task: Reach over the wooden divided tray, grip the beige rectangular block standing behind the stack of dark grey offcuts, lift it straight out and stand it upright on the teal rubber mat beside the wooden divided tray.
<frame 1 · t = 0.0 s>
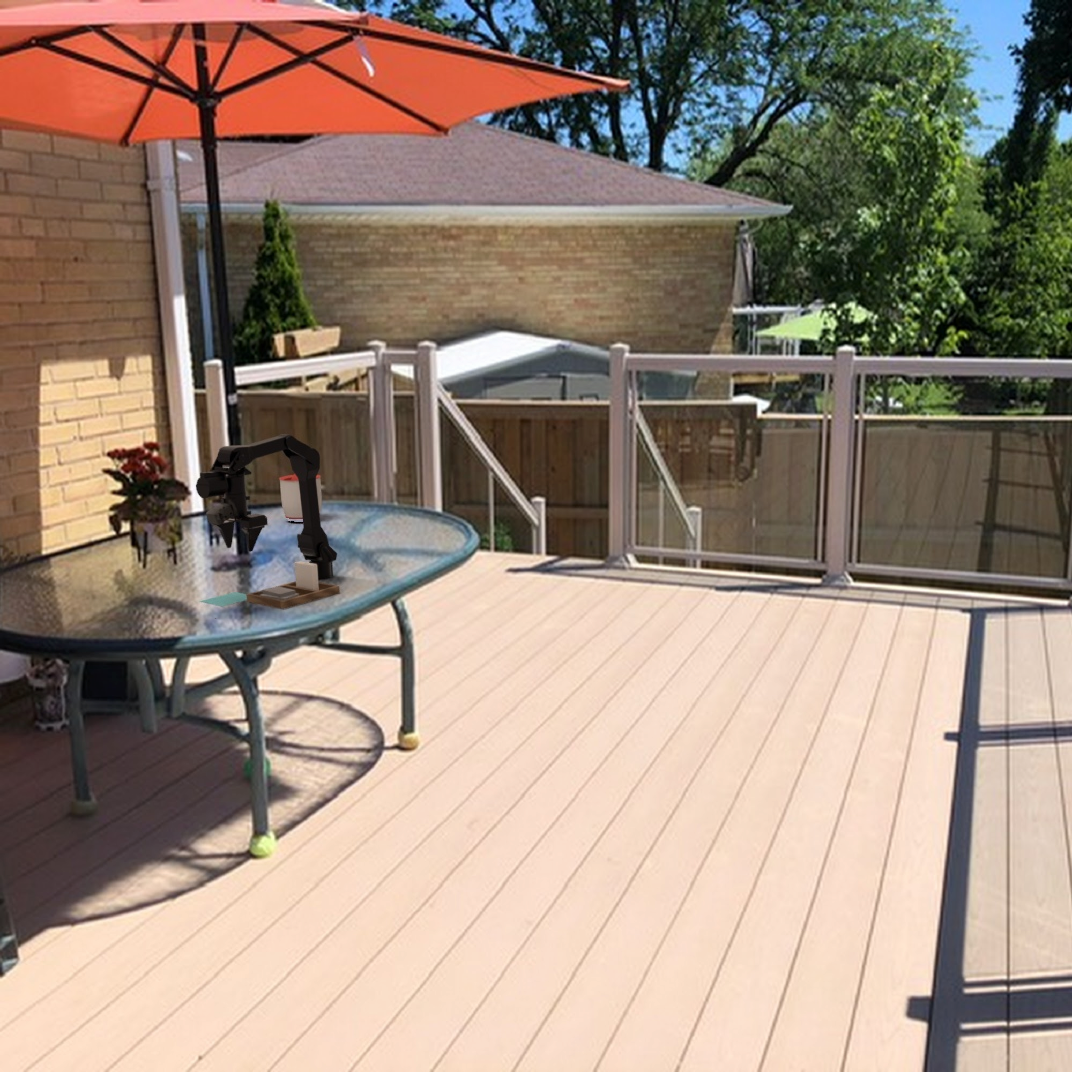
hand: (239, 549, 301), 15 cm above the table, tool pointing down, fingers open, 9 cm apart
beige rectangular block: (307, 593, 307), point 1 cm above the table, touching wooden divided tray
wooden divided tray: (294, 600, 304), on the table
citrus juicer: (304, 521, 424), on the table
offcut stack: (279, 601, 300), point 1 cm above the table, touching wooden divided tray
mat: (229, 602, 304), on the table
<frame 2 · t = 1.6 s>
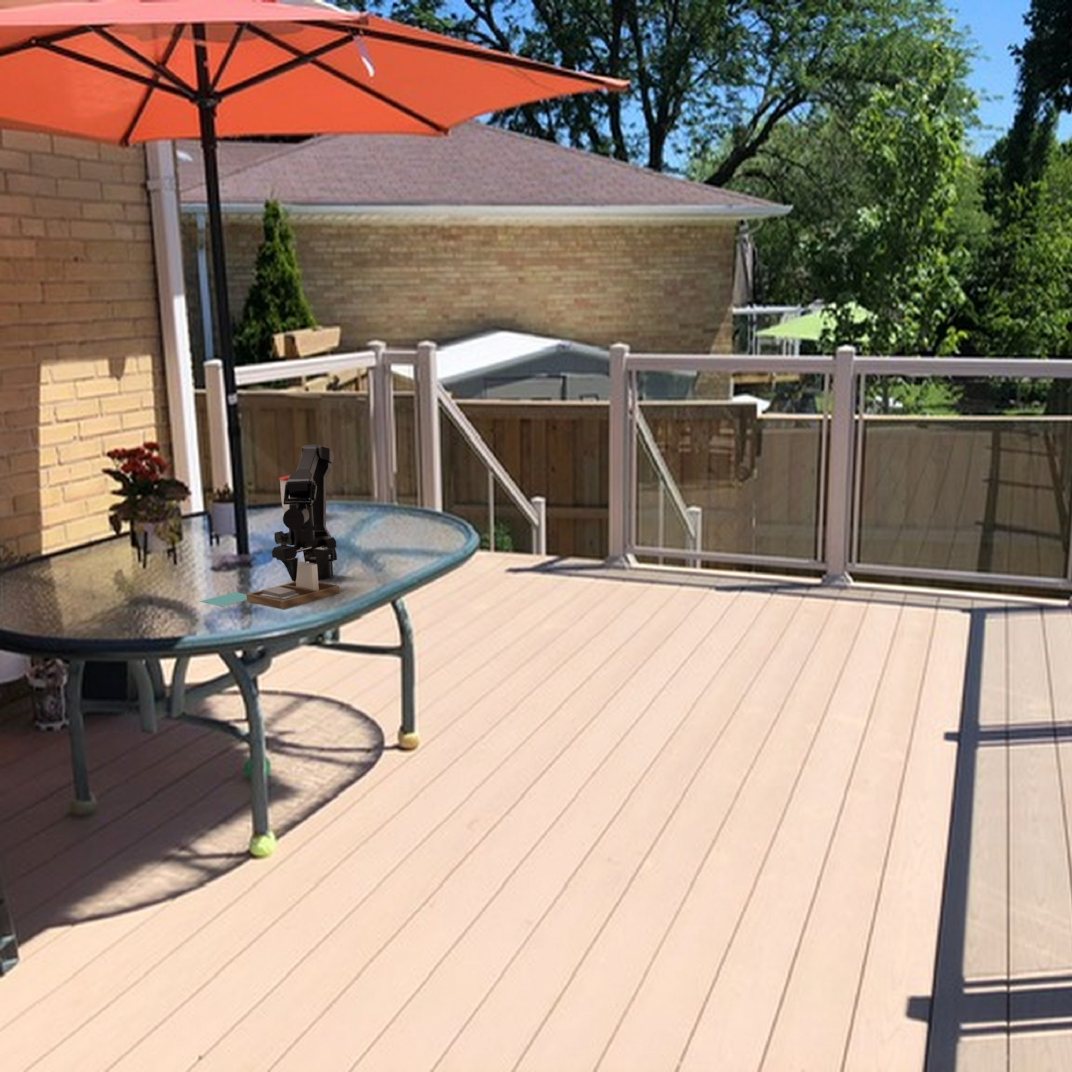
hand: (306, 577, 307), 5 cm above the table, tool pointing down, fingers open, 9 cm apart
nothing on the table moved.
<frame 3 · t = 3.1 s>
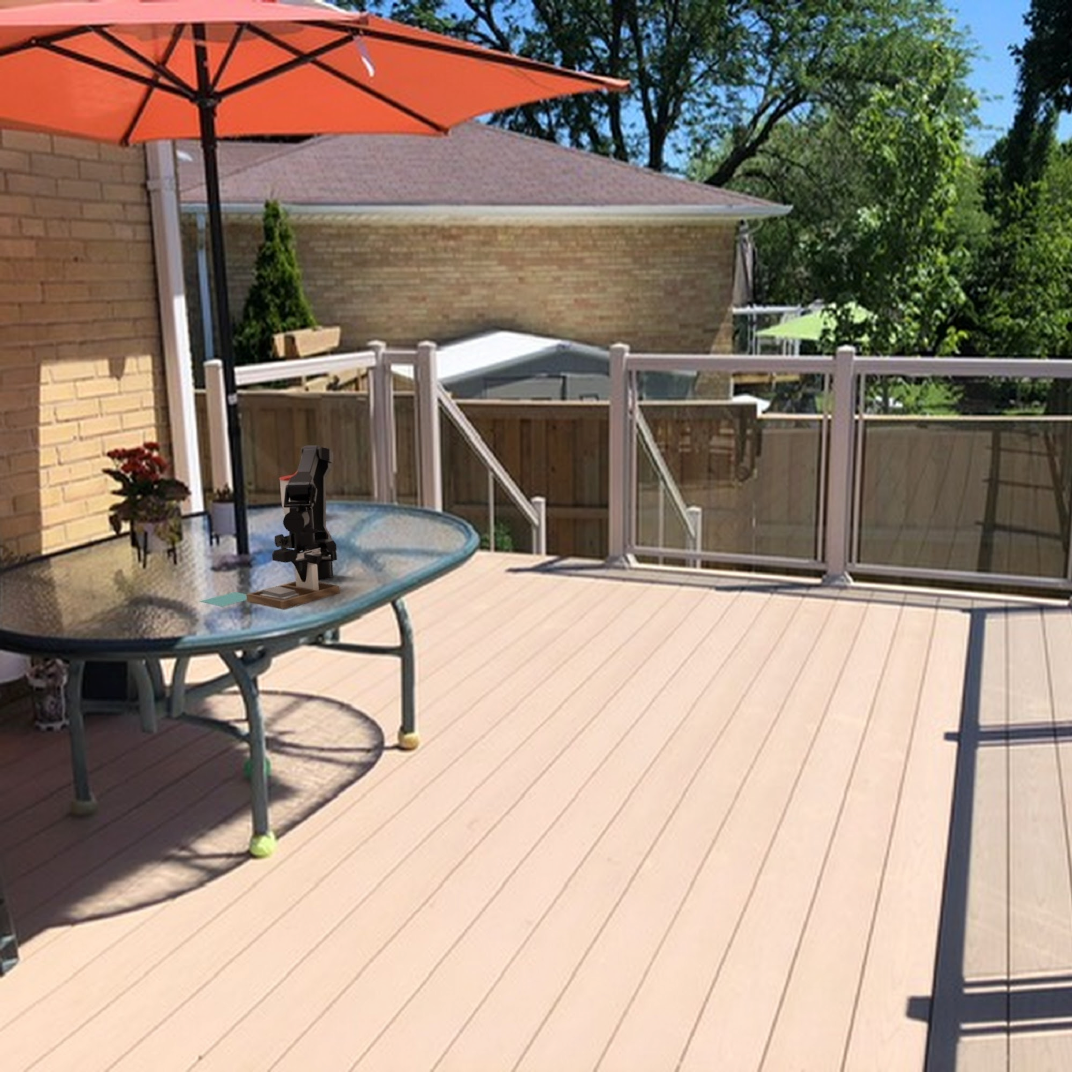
hand: (306, 580, 307), 5 cm above the table, tool pointing down, fingers closed on beige rectangular block, 2 cm apart
beige rectangular block: (307, 593, 307), point 1 cm above the table, touching gripper, wooden divided tray
everything else where it was.
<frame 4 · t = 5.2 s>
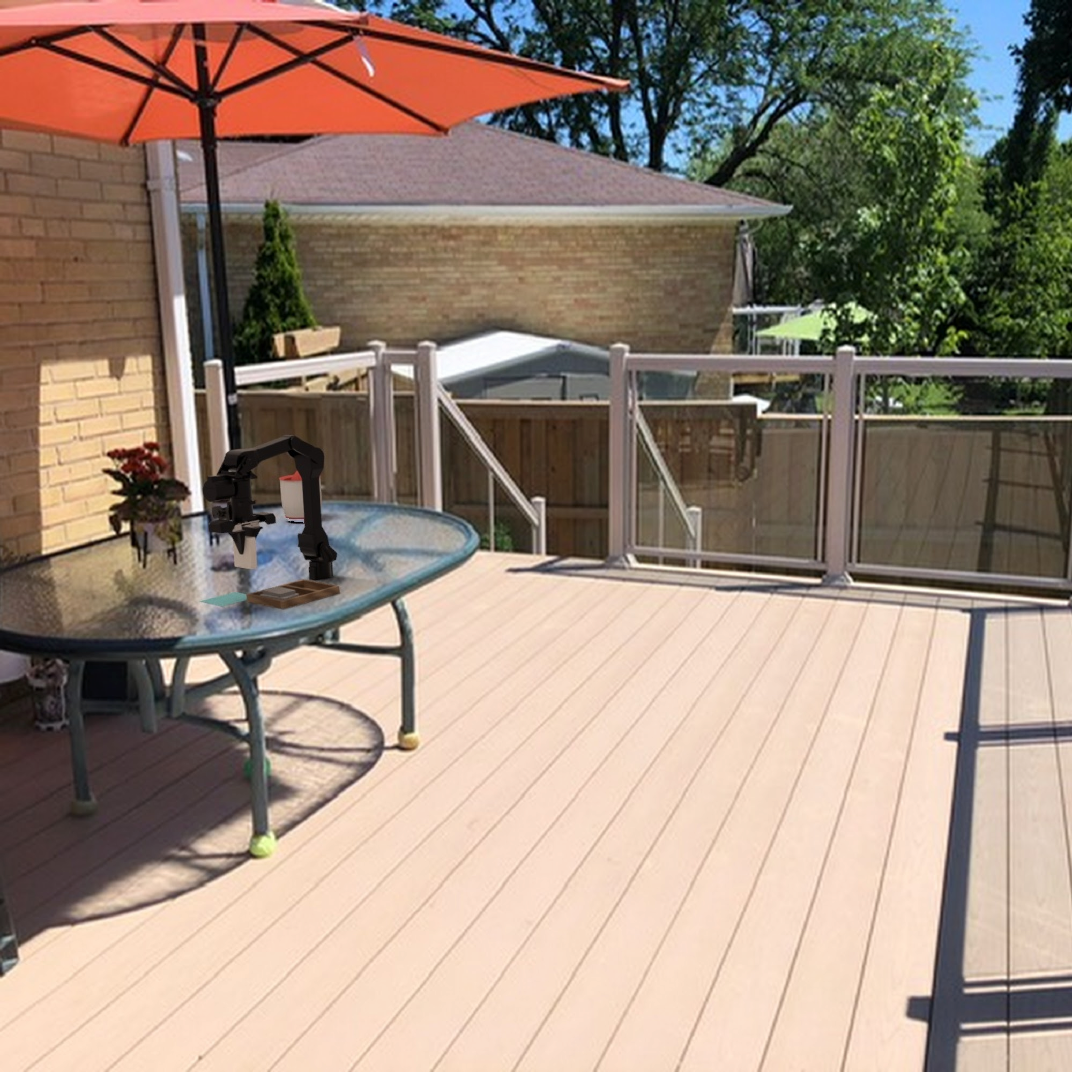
hand: (244, 553, 302), 13 cm above the table, tool pointing down, fingers closed on beige rectangular block
beige rectangular block: (245, 567, 302), point 10 cm above the table, touching gripper
everything else where it was.
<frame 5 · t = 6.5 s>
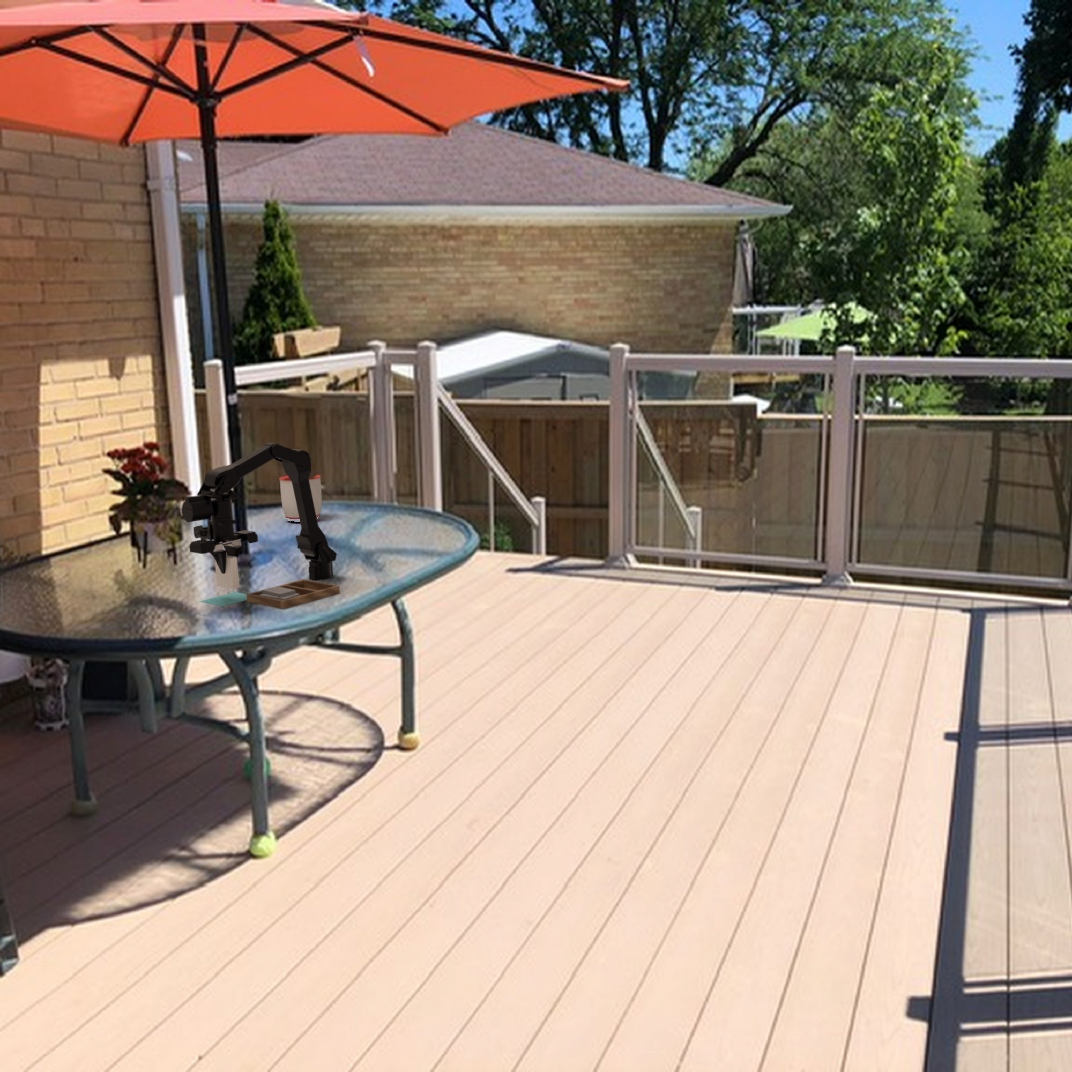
hand: (226, 572, 302), 8 cm above the table, tool pointing down, fingers closed on beige rectangular block
beige rectangular block: (228, 586, 303), point 5 cm above the table, touching gripper
everything else where it was.
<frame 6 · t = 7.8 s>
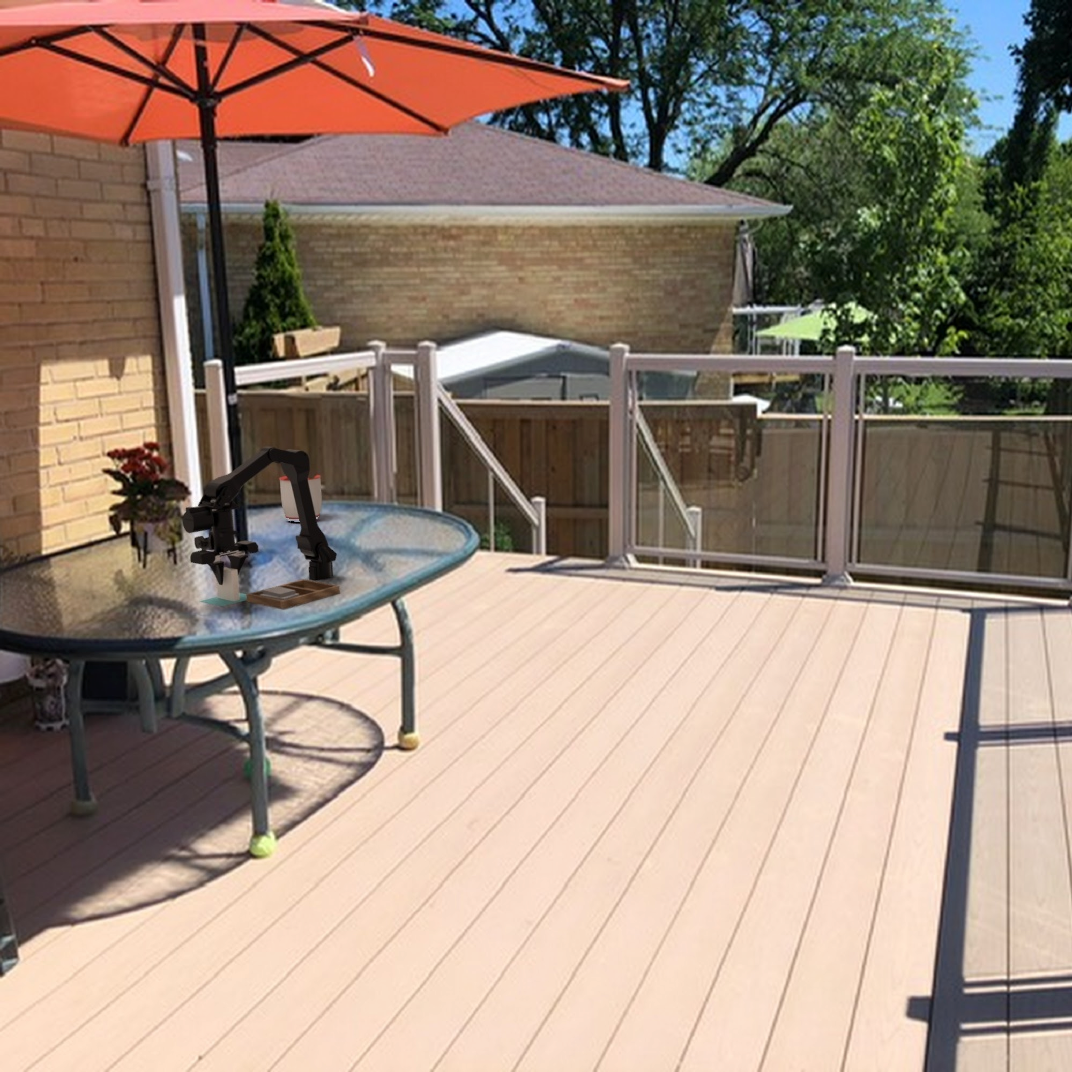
hand: (227, 583, 303), 5 cm above the table, tool pointing down, fingers open, 4 cm apart
beige rectangular block: (228, 598, 304), point 1 cm above the table, touching mat
everything else where it was.
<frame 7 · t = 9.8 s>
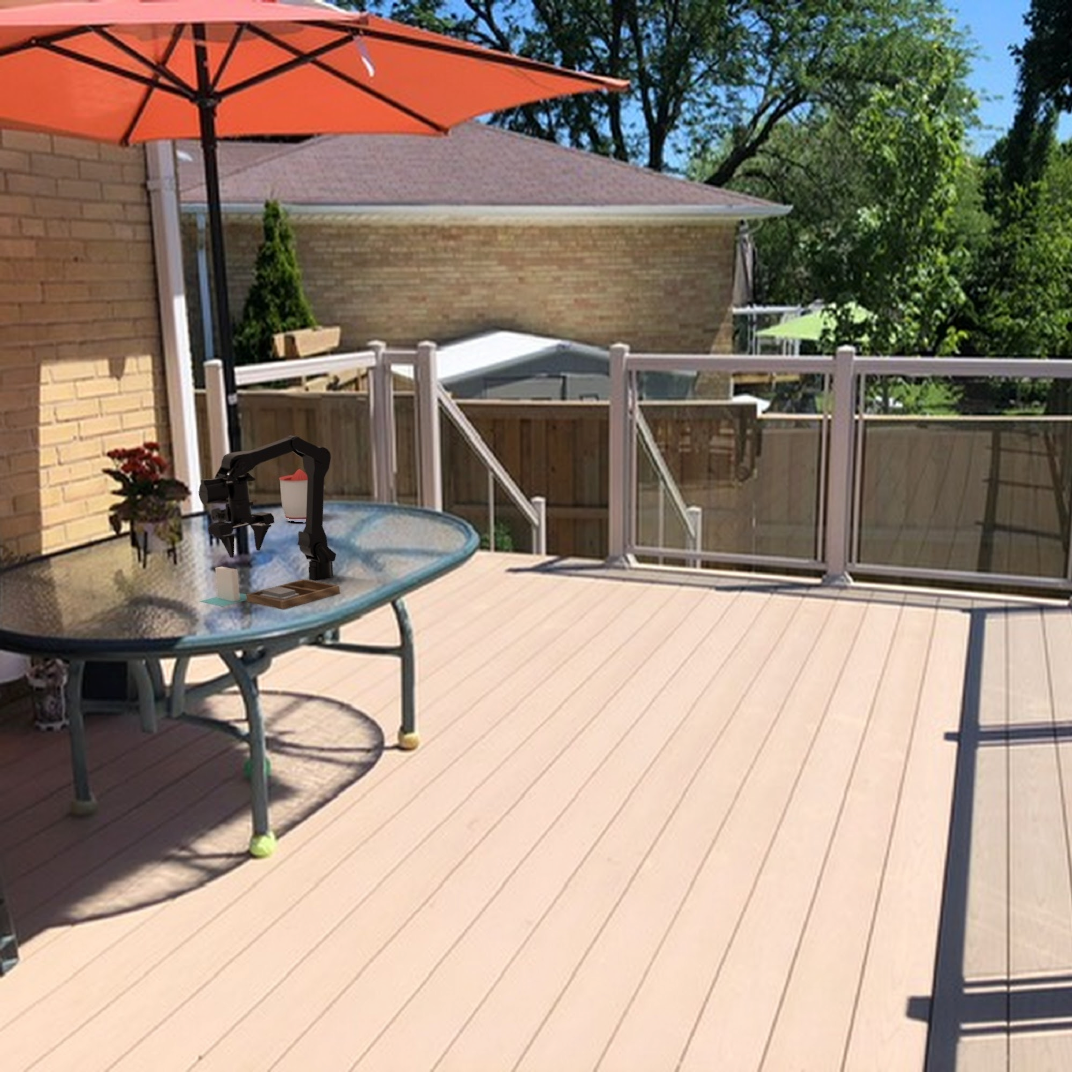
hand: (245, 553, 309), 12 cm above the table, tool pointing down, fingers open, 9 cm apart
nothing on the table moved.
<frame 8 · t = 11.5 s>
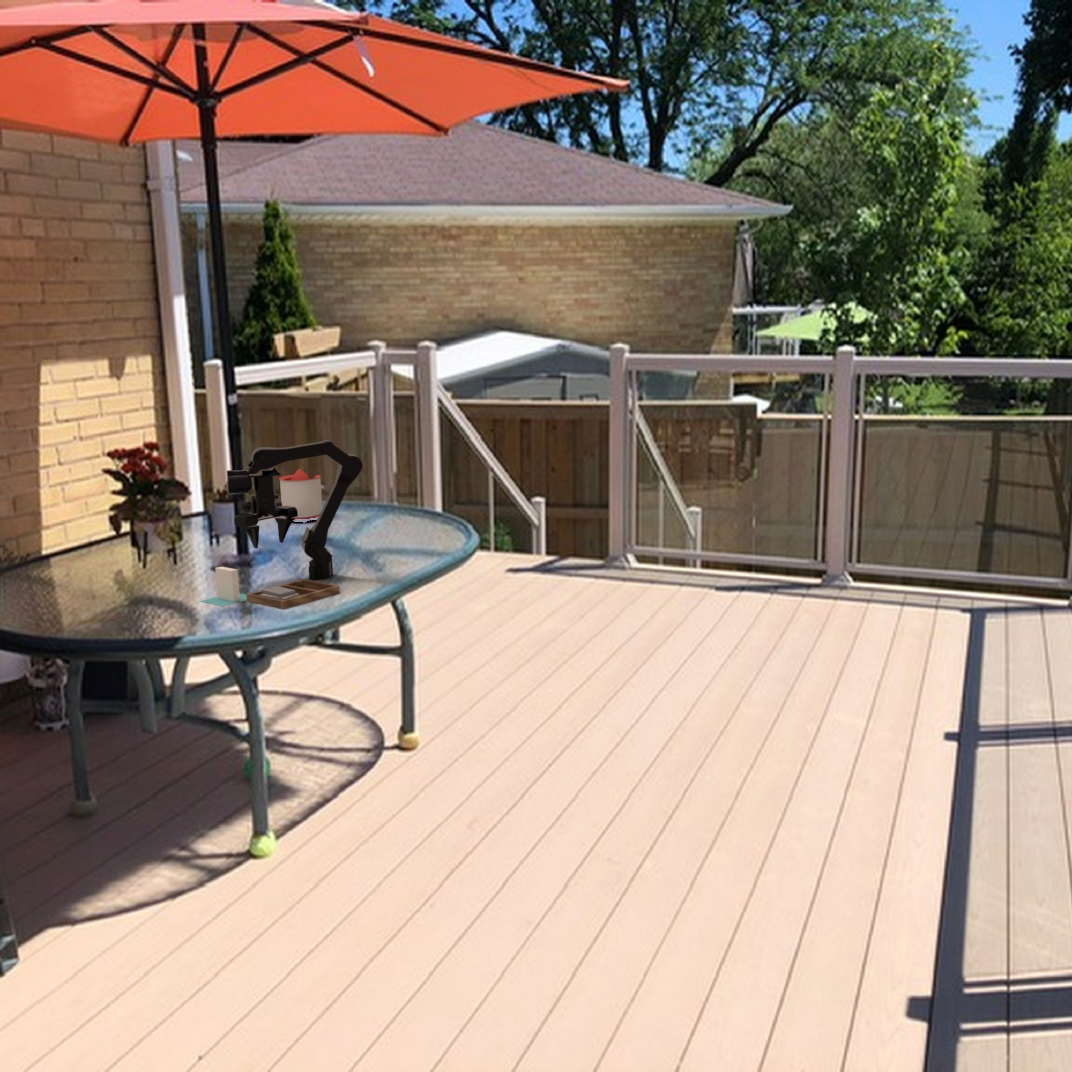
hand: (268, 545, 319), 12 cm above the table, tool pointing down, fingers open, 9 cm apart
nothing on the table moved.
at the end: beige rectangular block inside the target area on the mat (0.1 cm from its centre), point 1.0 cm above the mat's base; beige rectangular block tilted 0°; the gripper is holding nothing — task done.
